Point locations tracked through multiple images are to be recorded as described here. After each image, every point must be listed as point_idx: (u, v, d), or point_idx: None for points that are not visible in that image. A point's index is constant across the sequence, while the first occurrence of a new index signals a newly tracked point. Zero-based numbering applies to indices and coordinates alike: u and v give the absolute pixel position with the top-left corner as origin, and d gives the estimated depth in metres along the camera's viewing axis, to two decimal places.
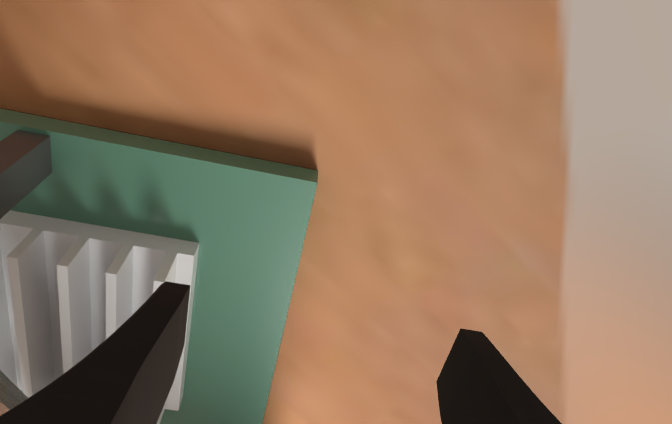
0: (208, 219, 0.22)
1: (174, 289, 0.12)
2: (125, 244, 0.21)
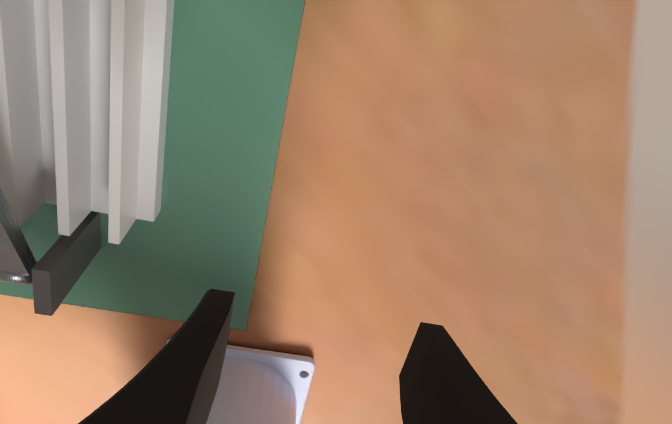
0: None
1: (221, 296, 0.12)
2: None
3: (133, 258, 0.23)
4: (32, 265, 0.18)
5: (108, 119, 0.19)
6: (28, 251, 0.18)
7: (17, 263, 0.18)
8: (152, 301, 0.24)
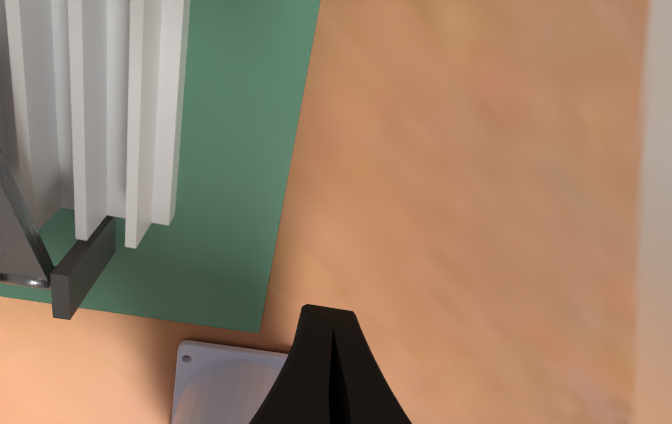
0: None
1: (320, 312, 0.12)
2: None
3: (147, 262, 0.23)
4: (50, 270, 0.18)
5: (124, 124, 0.19)
6: (47, 256, 0.18)
7: (36, 268, 0.18)
8: (166, 304, 0.24)
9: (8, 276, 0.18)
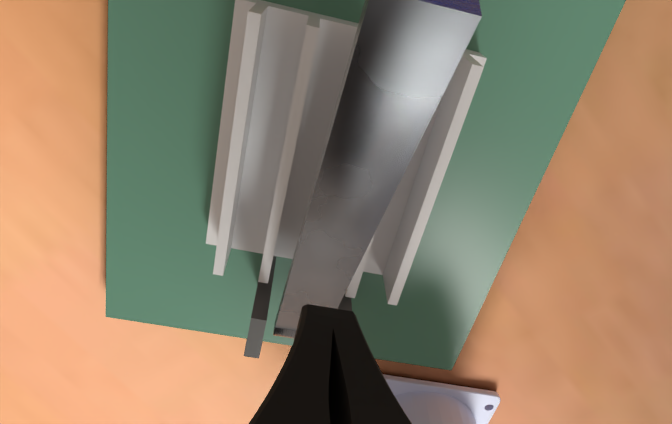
0: (498, 18, 0.18)
1: (320, 312, 0.12)
2: None
3: (367, 307, 0.25)
4: None
5: None
6: None
7: None
8: (373, 344, 0.26)
9: (291, 331, 0.20)
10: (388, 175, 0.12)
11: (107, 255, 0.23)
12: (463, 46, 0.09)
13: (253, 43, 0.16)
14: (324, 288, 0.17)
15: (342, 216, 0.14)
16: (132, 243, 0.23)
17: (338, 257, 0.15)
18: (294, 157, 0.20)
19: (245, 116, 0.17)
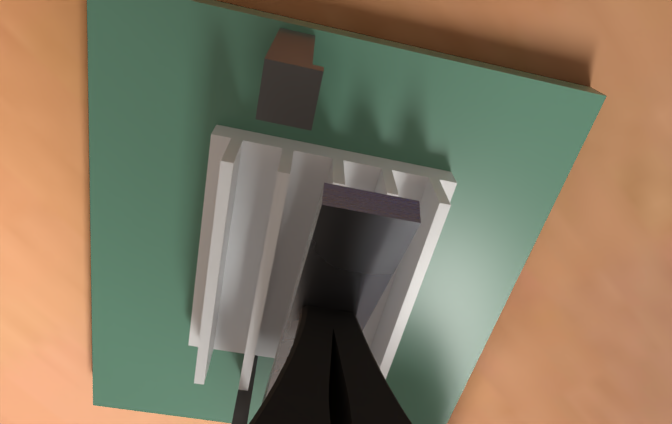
0: (469, 142, 0.19)
1: (320, 312, 0.12)
2: (382, 167, 0.18)
3: None
4: None
5: None
6: None
7: None
8: None
9: None
10: None
11: (93, 351, 0.23)
12: (407, 241, 0.10)
13: (226, 187, 0.16)
14: None
15: None
16: (117, 340, 0.23)
17: None
18: (272, 270, 0.20)
19: (221, 249, 0.17)
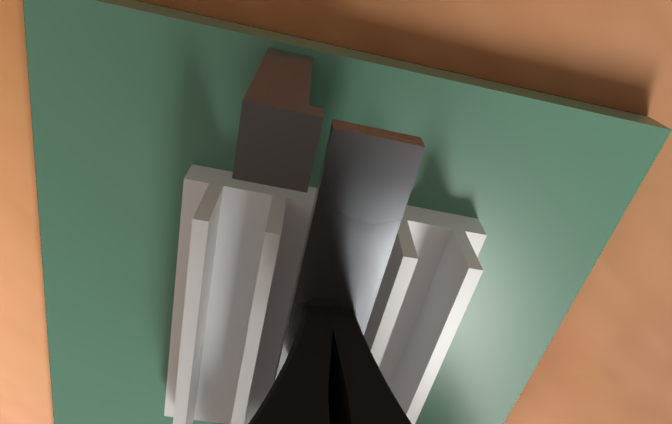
0: (501, 184, 0.15)
1: (320, 312, 0.12)
2: None
3: None
4: None
5: None
6: None
7: None
8: None
9: None
10: (359, 307, 0.13)
11: (55, 417, 0.20)
12: (413, 173, 0.11)
13: (201, 250, 0.13)
14: None
15: None
16: (82, 406, 0.20)
17: None
18: (262, 334, 0.17)
19: (196, 321, 0.14)
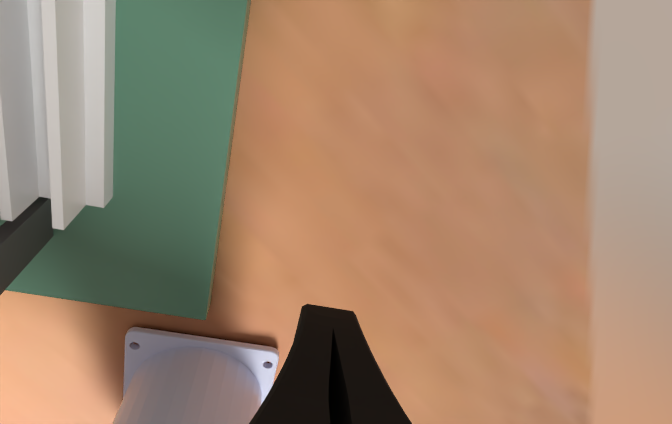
0: None
1: (320, 312, 0.12)
2: None
3: (87, 246, 0.22)
4: None
5: None
6: None
7: None
8: (109, 290, 0.24)
9: None
10: None
11: None
12: None
13: None
14: None
15: None
16: None
17: None
18: None
19: None
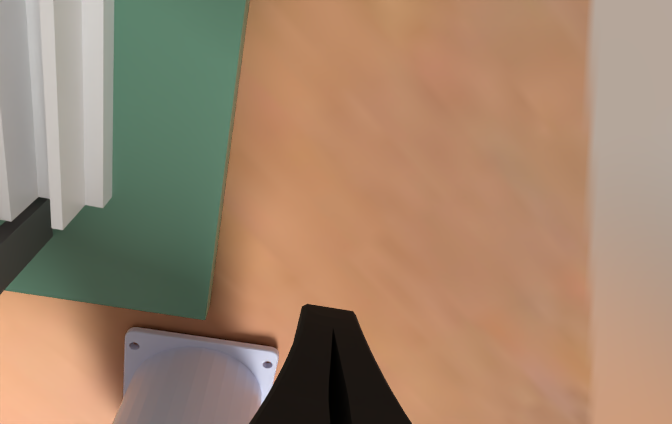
0: None
1: (319, 312, 0.12)
2: None
3: (87, 246, 0.22)
4: None
5: None
6: None
7: None
8: (108, 290, 0.24)
9: None
10: None
11: None
12: None
13: None
14: None
15: None
16: None
17: None
18: None
19: None
